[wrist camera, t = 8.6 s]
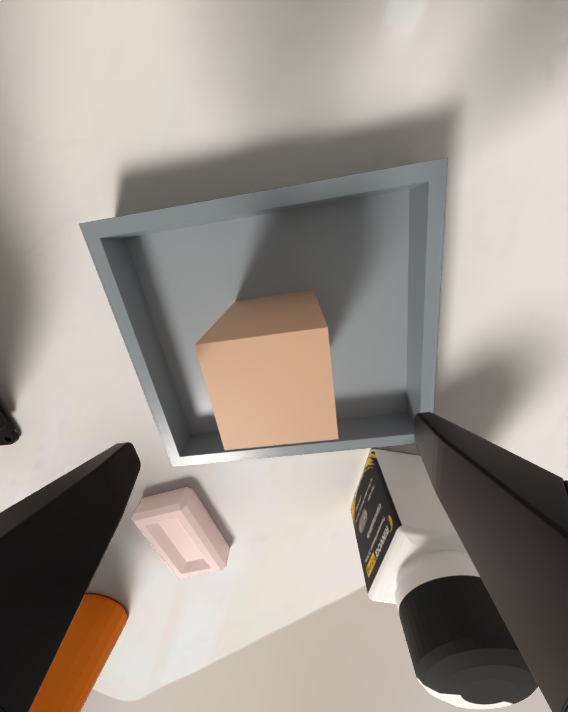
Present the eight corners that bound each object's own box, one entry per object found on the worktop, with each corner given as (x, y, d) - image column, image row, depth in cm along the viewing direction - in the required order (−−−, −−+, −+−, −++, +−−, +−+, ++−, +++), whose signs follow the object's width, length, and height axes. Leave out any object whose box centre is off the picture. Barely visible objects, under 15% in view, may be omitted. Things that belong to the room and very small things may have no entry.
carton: (250, 371, 20) (224, 450, 13) (235, 301, 18) (194, 345, 11) (321, 362, 19) (338, 439, 12) (313, 289, 18) (327, 327, 10)
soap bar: (192, 482, 25) (182, 505, 23) (232, 547, 29) (227, 573, 26) (140, 495, 26) (126, 519, 24) (185, 557, 29) (176, 583, 27)
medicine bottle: (370, 446, 23) (442, 642, 12) (456, 459, 23) (607, 664, 12) (349, 508, 26) (390, 715, 14) (426, 519, 26) (525, 732, 15)
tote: (187, 439, 23) (172, 466, 20) (113, 226, 17) (78, 223, 14) (414, 415, 22) (431, 442, 19) (420, 172, 16) (447, 157, 13)
